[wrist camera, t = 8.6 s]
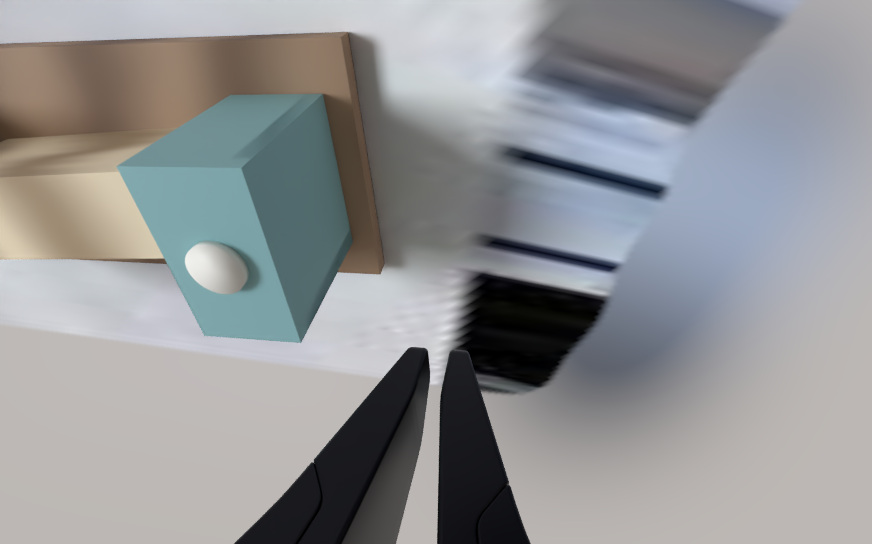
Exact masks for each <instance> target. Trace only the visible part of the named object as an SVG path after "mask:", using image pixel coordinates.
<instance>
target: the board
mask: <svg viewBox="0 0 872 544" xmlns="http://www.w3.org/2000/svg"><path fill="white" fill-rule="evenodd" d="M262 94H323V97H324V102H325V107H326V112H327V116H328V121H329V126H330V131H331V136H332V141H333V146H334V151H335V156H336V161H337V166H338V171H339V176H340V181H341V186H342V191H343V196H344V200H345V205H346V210H347V215H348V220H349V225H350V230H351V235H352V240H353V243H352V245H351V247H350V249H349V251H348V252H347V254H346V256H345V258H344V260H343V262H342V264H341V266H340V268H339V270H338V272H344V273H364V274H381V271H382V269H383V266H384V258H383V252H382V246H381V239H380V233H379V226H378V220H377V214H376V207H375V201H374V195H373V188H372V182H371V176H370V169H369V163H368V156H367V150H366V144H365V137H364V131H363V125H362V118H361V112H360V105H359V99H358V93H357V86H356V80H355V74H354V67H353V61H352V55H351V48H350V42H349V35H348V32H335V33H306V34H277V35H248V36H218V37H189V38H160V39H130V40H101V41H72V42H42V43H13V44H0V142H2V141H4V140H6V139H16V138H31V137H46V136H61V135H76V134H91V133H105V132H120V131H135V130H150V129H165V128H178V127H180V126H182V125H183V124H185V123H186V122H188V121H190V120H191V119H193V118H194V117H196V116H198V115H199V114H201V113H202V112H204V111H206V110H207V109H209V108H210V107H212V106H213V105H215V104H217V103H218V102H220V101H221V100H223V99H225V98H226V97H228V96H229V95H262ZM80 260H100V261H121V262H141V263H161V264H167V263H166V261H165V259H164V258H157V259H80Z"/></svg>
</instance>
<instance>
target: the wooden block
mask: <svg viewBox="0 0 872 544" xmlns="http://www.w3.org/2000/svg"><path fill="white" fill-rule="evenodd" d="M175 129H177V128H165V129H150V130H135V131H120V132H105V133H91V134H76V135H61V136H46V137H31V138H16V139H6V140H4V141H2V142H0V259H157V258H164V257H163V255H162V253H161V251H160V249H159V247H158V245H157V243H156V242H155V240H154V238H153V236H152V234H151V232H150V230H149V228H148V226H147V224H146V222H145V220H144V219H143V217H142V215H141V213H140V211H139V209H138V207H137V205H136V203H135V201H134V199H133V197H132V196H131V194H130V192H129V190H128V188H127V186H126V184H125V182H124V180H123V178H122V176H121V174H120V172H119V171H118V169H117V167H116V166H118V165H119V164H121V163H122V162H124V161H126V160H127V159H129V158H130V157H132V156H134V155H135V154H137V153H138V152H140V151H142V150H143V149H145V148H146V147H148V146H150V145H151V144H153V143H154V142H156V141H158V140H159V139H161V138H162V137H164V136H166V135H167V134H169V133H170V132H172V131H174V130H175Z"/></svg>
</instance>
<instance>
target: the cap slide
mask: <svg viewBox="0 0 872 544" xmlns="http://www.w3.org/2000/svg"><path fill="white" fill-rule="evenodd" d="M116 167H117V169H118V171H119V172H120V174H121V176H122V178H123V180H124V182H125V184H126V186H127V188H128V190H129V192H130V194H131V196H132V197H133V199H134V201H135V203H136V205H137V207H138V209H139V211H140V213H141V215H142V217H143V219H144V220H145V222H146V224H147V226H148V228H149V230H150V232H151V234H152V236H153V238H154V240H155V242H156V243H157V245H158V247H159V249H160V251H161V253H162V255H163V257H164V259H165V261H166V263H167V265H168V267H169V268H170V270H171V272H172V274H173V276H174V278H175V280H176V282H177V284H178V286H179V288H180V290H181V291H182V293H183V295H184V297H185V299H186V301H187V303H188V305H189V307H190V309H191V311H192V313H193V315H194V316H195V318H196V320H197V322H198V324H199V326H200V328H201V330H202V332H203V334H204V336H216V337H230V338H243V339H256V340H270V341H283V342H297V343H301V342H302V340H303V338H304V336H305V334H306V332H307V330H308V328H309V326H310V324H311V322H312V320H313V318H314V317H315V315H316V313H317V311H318V309H319V307H320V305H321V303H322V301H323V299H324V297H325V295H326V293H327V291H328V289H329V287H330V285H331V284H332V282H333V280H334V278H335V276H336V274H337V272H338V270H339V268H340V266H341V264H342V262H343V260H344V258H345V256H346V254H347V252H348V251H349V249H350V247H351V245H352V243H353V240H352V235H351V230H350V225H349V220H348V215H347V210H346V205H345V200H344V196H343V191H342V186H341V181H340V176H339V171H338V166H337V161H336V156H335V151H334V146H333V141H332V136H331V131H330V126H329V121H328V116H327V112H326V107H325V102H324V97H323V94H262V95H229V96H228V97H226V98H225V99H223V100H221V101H220V102H218V103H217V104H215V105H213V106H212V107H210V108H209V109H207V110H206V111H204V112H202V113H201V114H199V115H198V116H196V117H194V118H193V119H191V120H190V121H188V122H186V123H185V124H183V125H182V126H180V127H178V128H177V129H175V130H174V131H172V132H170V133H169V134H167V135H166V136H164V137H162V138H161V139H159V140H158V141H156V142H154V143H153V144H151V145H150V146H148V147H146V148H145V149H143V150H142V151H140V152H138V153H137V154H135V155H134V156H132V157H130V158H129V159H127V160H126V161H124V162H122V163H121V164H119V165H118V166H116Z"/></svg>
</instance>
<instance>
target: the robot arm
mask: <svg viewBox="0 0 872 544" xmlns="http://www.w3.org/2000/svg"><path fill="white" fill-rule="evenodd" d="M429 382H430V368H429V357H428V351H427V349H426V348H419V347H410V348H408V349H407V350H406V352H405V353H404V354H403V355H402V356H401V358H400V359H399V360H398V361H397V362H396V363H395V365H394V366H393V367H392V368H391V369H390V371H389V372H388V373H387V374H386V375H385V376H384V378H383V379H382V380H381V381H380V382H379V384H378V385H377V386H376V387H375V388H374V390H373V391H372V392H371V393H370V394H369V395H368V396H367V398H366V399H365V400H364V401H363V402H362V404H361V405H360V406H359V407H358V408H357V409H356V411H355V412H354V413H353V414H352V416H351V417H350V418H349V419H348V420H347V421H346V423H345V424H344V425H343V426H342V427H341V428H340V430H339V431H338V432H337V433H336V434H335V435H334V437H333V438H332V439H331V440H330V441H329V442H328V444H327V445H326V446H325V447H324V448H323V450H322V451H321V452H320V453H319V455H317V457H316V458H315V459H314V463H311V464H310V465H309V466H308V467H307V468H306V470H305V471H304V472H303V473H302V474H301V475H300V477H299V478H298V479H297V480H296V481H295V482H294V483H293V484H292V486H291V487H290V488H289V489H288V490H287V491H286V492H285V493H284V495H283V496H282V497H281V498H280V499H279V500H278V501H277V502H276V503H275V504H274V505H273V506H272V507H271V508H270V509H269V510H268V511H267V512H266V513H265V514H264V515H263V516H262V517H261V518H260V519H259V520H258V521H257V522H256V523H255V524H254V525H253V526H252V527H251V528H250V529H249V530H248V531H247V532H246V533H244V535H243V536H241V537H240V538H239V539H238V540H237V541H236V542H235V543H234V544H396V541H397V537H398V533H399V529H400V525H401V521H402V517H403V514H404V510H405V505H406V502H407V498H408V493H409V490H410V486H411V482H412V478H413V474H414V471H415V467H416V462H417V459H418V455H419V450H420V446H421V441H422V435H423V428H424V419H425V412H426V405H427V397H428V389H429ZM437 544H530V541H529V539H528V536H527V534H526V531H525V529H524V526H523V523H522V520H521V517H520V514H519V512H518V509H517V506H516V503H515V500H514V497H513V494H512V490H511V487H510V486H509V481H508V478H507V475H506V471H505V468H504V465H503V462H502V458H501V455H500V452H499V449H498V446H497V442H496V439H495V436H494V433H493V429H492V426H491V423H490V420H489V417H488V413H487V410H486V407H485V404H484V401H483V397H482V394H481V391H480V388H479V384H478V381H477V378H476V375H475V372H474V368H473V365H472V362H471V359H470V356H469V353H468V352H467V351H460V350H452V351H450V353H449V358H448V362H447V367H446V372H445V376H444V381H443V386H442V391H441V400H440V437H439V484H438V533H437Z"/></svg>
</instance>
